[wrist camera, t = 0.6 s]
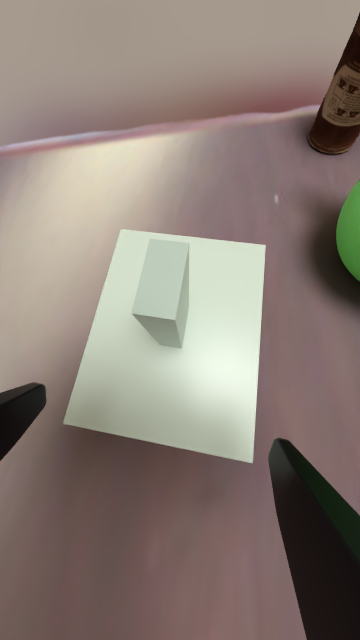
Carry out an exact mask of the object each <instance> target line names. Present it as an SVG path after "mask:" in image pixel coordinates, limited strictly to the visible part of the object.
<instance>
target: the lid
mask: <svg viewBox="0 0 360 640" xmlns="http://www.w3.org/2000/svg"><path fill="white" fill-rule="evenodd" d="M265 246H266V245H259V244H250V243H241V242H232V241H223V240H214V239H205V238H196V237H187V236H178V235H169V234H160V233H151V232H142V231H133V230H124V229H121V231H120V234H119V238H118V241H117V244H116V248H115V251H114V254H113V258H112V261H111V264H110V268H109V271H108V274H107V278H106V281H105V284H104V288H103V291H102V294H101V298H100V301H99V304H98V308H97V311H96V314H95V318H94V321H93V324H92V328H91V331H90V334H89V338H88V341H87V345H86V348H85V351H84V355H83V358H82V361H81V365H80V368H79V371H78V375H77V378H76V381H75V385H74V388H73V391H72V395H71V398H70V401H69V405H68V408H67V411H66V415H65V418H64V421H63V424H67V425H72V426H77V427H81V428H86V429H91V430H96V431H101V432H105V433H110V434H115V435H120V436H125V437H129V438H134V439H139V440H144V441H149V442H153V443H158V444H163V445H168V446H172V447H177V448H182V449H187V450H192V451H196V452H201V453H206V454H211V455H216V456H220V457H225V458H230V459H235V460H240V461H244V462H249V463H253V449H254V432H255V415H256V398H257V381H258V364H259V347H260V330H261V313H262V297H263V280H264V263H265Z"/></svg>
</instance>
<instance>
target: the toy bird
mask: <svg viewBox="0 0 360 640" xmlns="http://www.w3.org/2000/svg"><path fill="white" fill-rule="evenodd" d="M336 242H337V248H338V252H339V255H340V257H341V260H342V262H343V263H344V265H345V266H346V268H347V269H348V270H349V272H350V273H351V274H352V275H353V276H354V277H355V278H356V279H357V280H358V281H360V180H359V181H358V182H357V183H356V185H355V186H354V187H353V189H352V190H351V192H350V193H349V195H348V197H347V199H346V200H345V202H344V205H343V207H342V209H341V212H340V215H339V219H338V223H337V229H336Z"/></svg>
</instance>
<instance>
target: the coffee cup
mask: <svg viewBox="0 0 360 640" xmlns="http://www.w3.org/2000/svg"><path fill="white" fill-rule="evenodd" d="M359 133H360V13H359V16H358V19H357V21H356V24H355V27H354V29H353V32H352V34H351V36H350V38H349V40H348V43H347V45H346V47H345V50H344V52H343V54H342V57H341V59H340V62H339V64H338V66H337V68H336V71H335V73H334V76H333V79H332V81H331V84H330V86H329V89H328V91H327V94H326V95H325V97H324V99H323V102H322V104H321V106H320V108H319V111H318V113H317V117H316V119H315V122H314V125H313V127H312V129H311V131H310V133H309V136H308V139H309V142H310V144H311V145H312V146H313V147H314V148H316V149H318V150H320V151H322V152H325V153H333V154H335V153H343V152H345V151H347V150H349V149H350V148H351V146H352V144H353V143H354V142H355V140H356V138H357V137H358V135H359Z"/></svg>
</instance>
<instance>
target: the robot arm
mask: <svg viewBox="0 0 360 640" xmlns="http://www.w3.org/2000/svg"><path fill="white" fill-rule="evenodd" d="M45 405H46V388H45V385H43V384H40V383H36V382H33V383H30V384H27V385H23V386H20V387H17V388H14V389H11V390H8V391H5V392H2V393H0V461H1V460H2V459H3V457H4V456H5V455H6V454H7V453H8V452H9V451H10V450H11V448H12V447H13V446H14V445H15V444H16V443H17V441H18V440H19V439H20V438H21V436H22V435H23V434H24V433H25V431H26V430H27V429H28V427H29V426H30V425H31V424H32V422H33V421H34V420H35V418H36V417H37V416H38V415H39V413H40V412H41V411H42V409H43V408H44V407H45ZM268 460H269V467H270V474H271V481H272V487H273V494H274V500H275V507H276V512H277V517H278V522H279V526H280V530H281V535H282V539H283V543H284V547H285V551H286V555H287V559H288V564H289V568H290V572H291V576H292V580H293V584H294V588H295V593H296V597H297V601H298V605H299V609H300V613H301V617H302V622H303V626H304V630H305V634H306V638H307V640H360V516H359V514H358V513H357V512H356V511H355V510H354V509H353V508H352V507H351V506H350V505H349V504H348V503H347V502H346V501H345V500H344V499H343V497H342V496H341V495H340V494H339V493H338V492H337V491H336V490H335V489H334V488H333V487H332V486H331V485H330V484H329V483H328V482H327V480H326V479H325V478H324V477H323V476H322V475H321V474H320V473H319V472H318V471H317V470H316V469H315V468H314V467H313V466H312V465H311V463H310V462H309V461H308V460H307V459H306V458H305V457H304V456H303V455H302V454H301V453H300V452H299V451H298V450H297V449H296V448H295V446H294V445H293V444H292V443H291V442H290V441H288V440H286V439H282V438H275V439H274V442H273V444H272V447H271V450H270V452H269V457H268Z"/></svg>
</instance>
